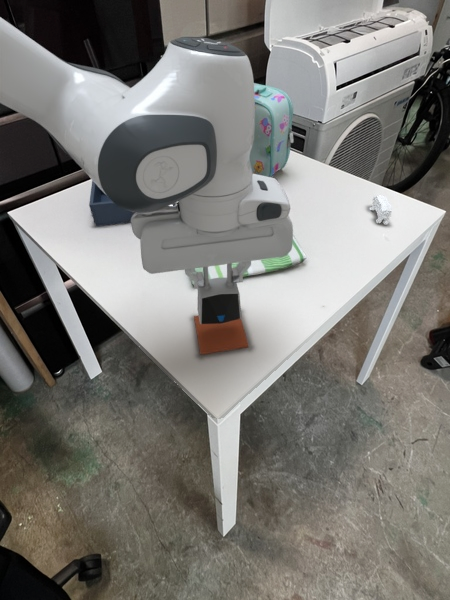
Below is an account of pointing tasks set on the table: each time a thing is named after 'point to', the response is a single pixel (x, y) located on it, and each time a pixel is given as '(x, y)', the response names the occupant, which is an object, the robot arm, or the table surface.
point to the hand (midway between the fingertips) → (218, 282)
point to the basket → (106, 209)
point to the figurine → (381, 209)
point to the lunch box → (271, 130)
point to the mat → (220, 336)
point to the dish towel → (261, 264)
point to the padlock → (218, 299)
